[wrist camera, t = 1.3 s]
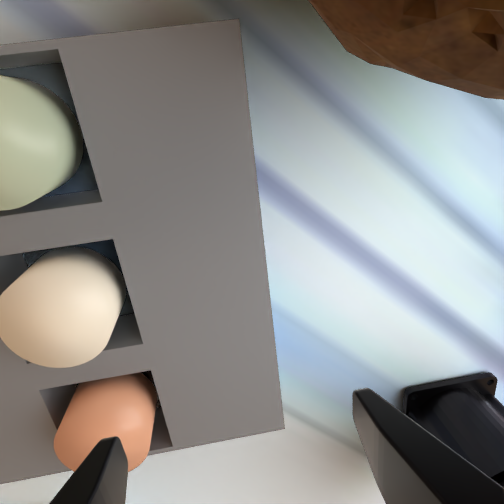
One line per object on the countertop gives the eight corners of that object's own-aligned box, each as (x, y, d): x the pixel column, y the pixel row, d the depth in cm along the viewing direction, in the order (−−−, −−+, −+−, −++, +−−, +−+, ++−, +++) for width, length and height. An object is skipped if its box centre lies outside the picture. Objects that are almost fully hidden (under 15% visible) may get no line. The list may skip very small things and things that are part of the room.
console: (232, 34, 15) (239, 18, 12) (275, 390, 23) (284, 428, 20) (-222, 85, 14) (-326, 80, 11) (-14, 444, 22) (-46, 493, 19)
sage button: (63, 70, 14) (28, 62, 11) (96, 183, 15) (73, 200, 13) (-56, 85, 13) (-124, 79, 11) (-10, 198, 15) (-57, 219, 12)
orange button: (147, 360, 19) (138, 402, 16) (164, 419, 21) (158, 467, 18) (63, 374, 19) (39, 420, 16) (88, 434, 21) (70, 484, 18)
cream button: (112, 239, 16) (93, 266, 14) (135, 319, 18) (123, 357, 15) (14, 254, 16) (-26, 285, 13) (47, 334, 18) (18, 376, 15)
